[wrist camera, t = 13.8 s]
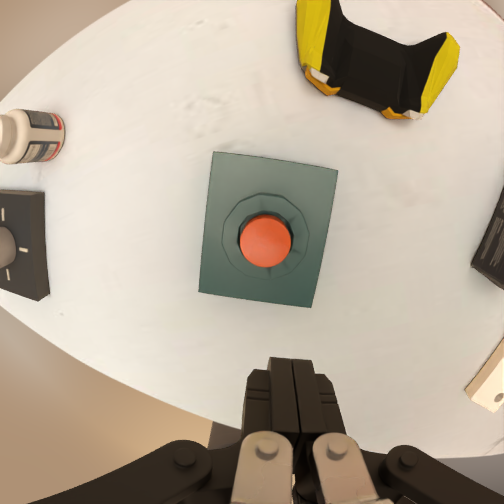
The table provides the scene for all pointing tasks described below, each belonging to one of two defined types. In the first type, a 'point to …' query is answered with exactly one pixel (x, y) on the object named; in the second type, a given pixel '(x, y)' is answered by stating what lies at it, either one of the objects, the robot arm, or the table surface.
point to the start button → (265, 241)
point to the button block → (272, 203)
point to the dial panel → (25, 244)
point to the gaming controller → (371, 62)
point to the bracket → (489, 382)
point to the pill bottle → (30, 136)
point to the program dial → (6, 247)
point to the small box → (493, 249)
